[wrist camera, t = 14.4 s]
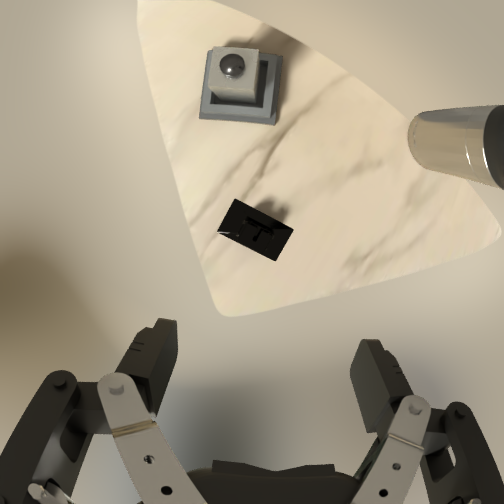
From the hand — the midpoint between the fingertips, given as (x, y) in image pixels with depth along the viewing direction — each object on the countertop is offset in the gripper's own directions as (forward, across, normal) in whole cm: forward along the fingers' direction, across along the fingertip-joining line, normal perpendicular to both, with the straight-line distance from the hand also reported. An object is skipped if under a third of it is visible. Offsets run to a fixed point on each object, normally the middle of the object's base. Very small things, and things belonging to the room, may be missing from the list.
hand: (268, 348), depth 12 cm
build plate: (+31, +1, +4) cm, 31 cm away
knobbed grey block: (+29, +5, -16) cm, 34 cm away
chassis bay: (+30, +5, -16) cm, 34 cm away
